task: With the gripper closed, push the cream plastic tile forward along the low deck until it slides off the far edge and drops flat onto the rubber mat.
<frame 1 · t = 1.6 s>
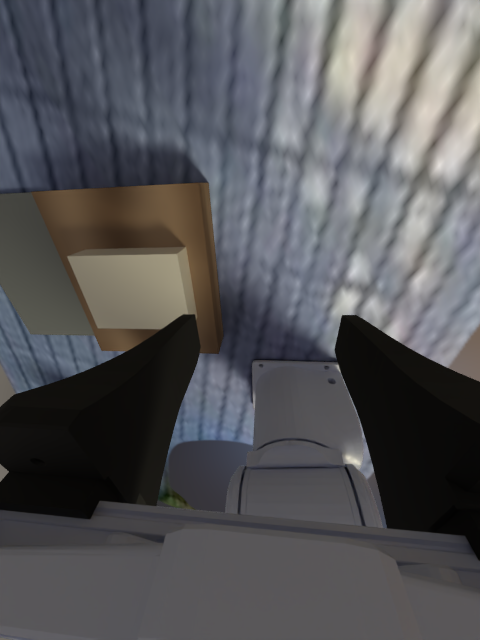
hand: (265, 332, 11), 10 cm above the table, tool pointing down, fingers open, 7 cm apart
mat: (43, 274, 23), on the table
tile: (144, 285, 19), point 3 cm above the table, touching deck
deck: (154, 273, 21), on the table
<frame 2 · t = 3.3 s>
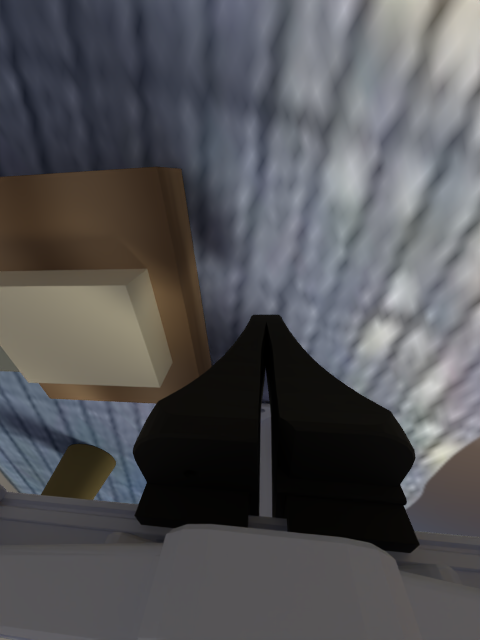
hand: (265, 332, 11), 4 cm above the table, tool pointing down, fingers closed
tile: (93, 320, 13), point 3 cm above the table, touching deck
cork: (92, 455, 28), on the table
deck: (114, 297, 16), on the table
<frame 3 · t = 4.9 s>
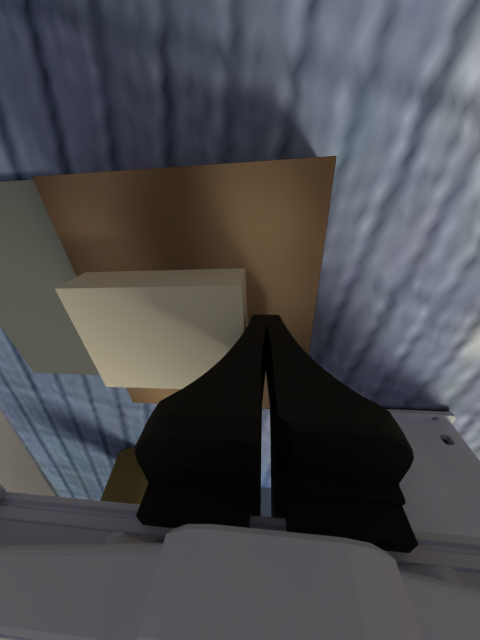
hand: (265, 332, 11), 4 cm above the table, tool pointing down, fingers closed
mat: (50, 298, 16), on the table
tile: (175, 322, 13), point 3 cm above the table, touching deck, gripper
cork: (143, 460, 28), on the table
deck: (210, 297, 15), on the table
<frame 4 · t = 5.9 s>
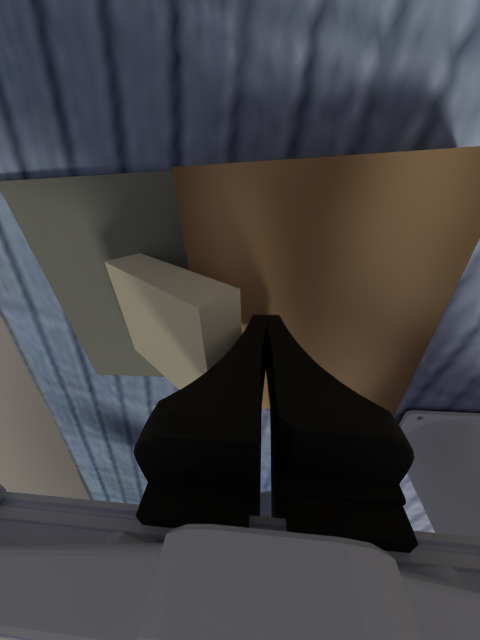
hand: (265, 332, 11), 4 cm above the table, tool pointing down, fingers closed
mat: (129, 297, 16), on the table
tile: (188, 319, 13), point 3 cm above the table, tilted 38°, touching gripper, mat
deck: (303, 296, 14), on the table
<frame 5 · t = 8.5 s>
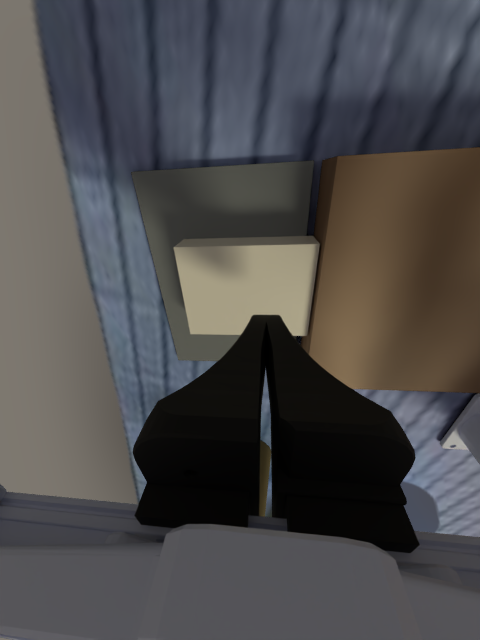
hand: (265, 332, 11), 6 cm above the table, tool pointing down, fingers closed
mat: (229, 284, 16), on the table
tile: (247, 282, 16), resting on mat
cork: (246, 449, 28), on the table
deck: (400, 282, 15), on the table
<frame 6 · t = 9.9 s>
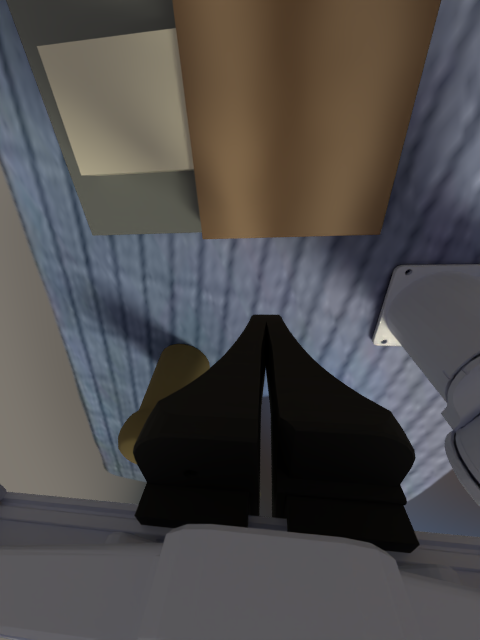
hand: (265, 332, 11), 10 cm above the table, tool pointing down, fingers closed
mat: (123, 127, 16), on the table
tile: (138, 119, 15), resting on mat
cork: (185, 362, 28), on the table
deck: (291, 113, 15), on the table
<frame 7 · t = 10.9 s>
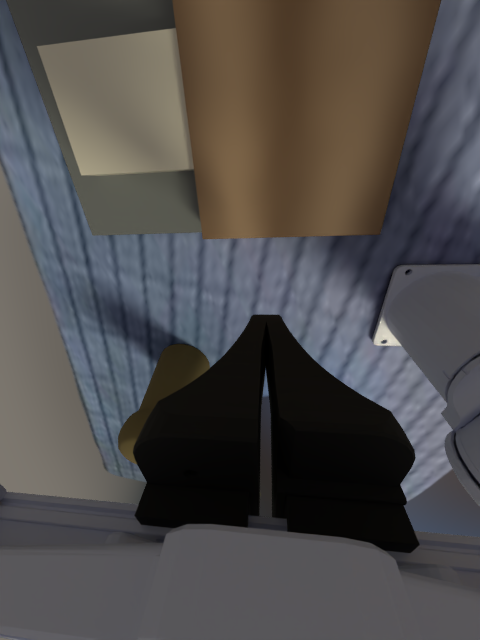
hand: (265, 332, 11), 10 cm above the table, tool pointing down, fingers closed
mat: (123, 127, 16), on the table
tile: (138, 119, 15), resting on mat
cork: (185, 362, 28), on the table
deck: (291, 113, 15), on the table
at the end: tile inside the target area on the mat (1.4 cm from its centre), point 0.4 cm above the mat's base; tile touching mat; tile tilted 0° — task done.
